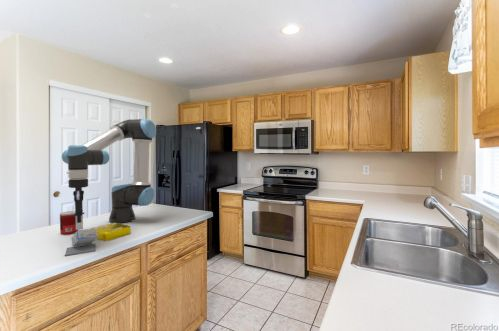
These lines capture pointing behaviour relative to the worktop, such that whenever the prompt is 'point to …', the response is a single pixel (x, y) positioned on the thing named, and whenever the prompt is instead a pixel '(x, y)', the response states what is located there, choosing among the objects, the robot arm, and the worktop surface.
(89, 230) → the medicine box
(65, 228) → the canned food
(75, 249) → the mat
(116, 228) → the element tile
